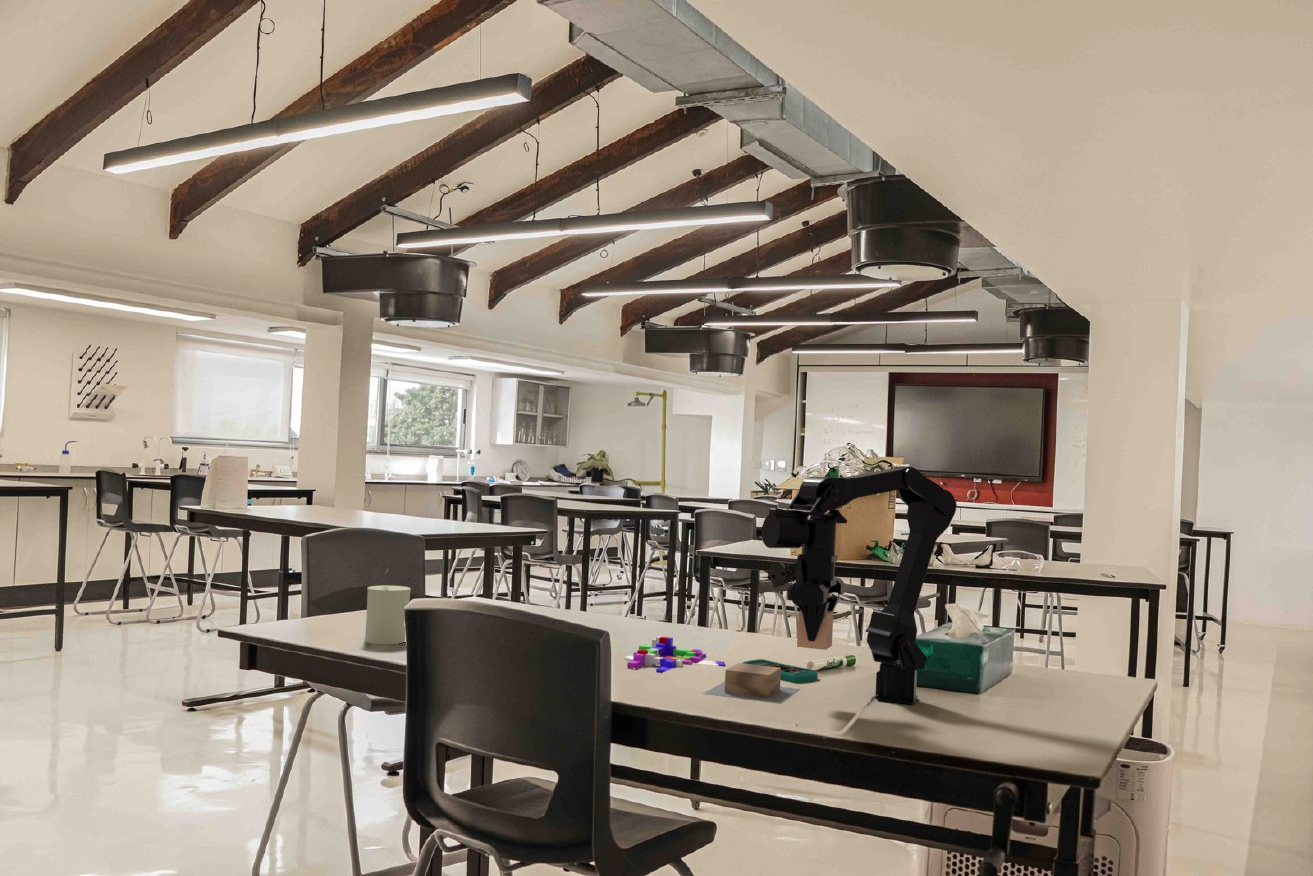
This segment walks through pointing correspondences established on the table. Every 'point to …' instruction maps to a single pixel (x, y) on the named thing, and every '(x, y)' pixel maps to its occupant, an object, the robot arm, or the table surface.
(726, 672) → the walnut base block
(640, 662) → the building block set
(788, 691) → the grey flat square plate
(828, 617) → the terracotta cube
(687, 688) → the table surface
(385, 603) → the can
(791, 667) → the digital multimeter
